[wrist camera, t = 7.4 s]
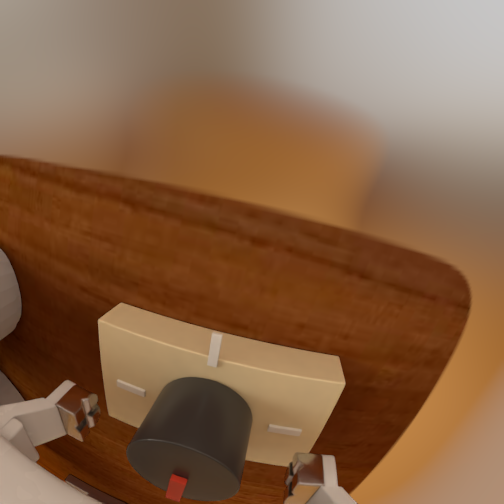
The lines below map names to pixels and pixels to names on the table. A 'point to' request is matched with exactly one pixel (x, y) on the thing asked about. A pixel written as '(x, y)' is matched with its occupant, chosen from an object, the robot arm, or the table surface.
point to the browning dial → (193, 440)
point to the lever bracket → (91, 491)
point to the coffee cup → (8, 297)
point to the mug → (8, 392)
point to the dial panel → (219, 377)
